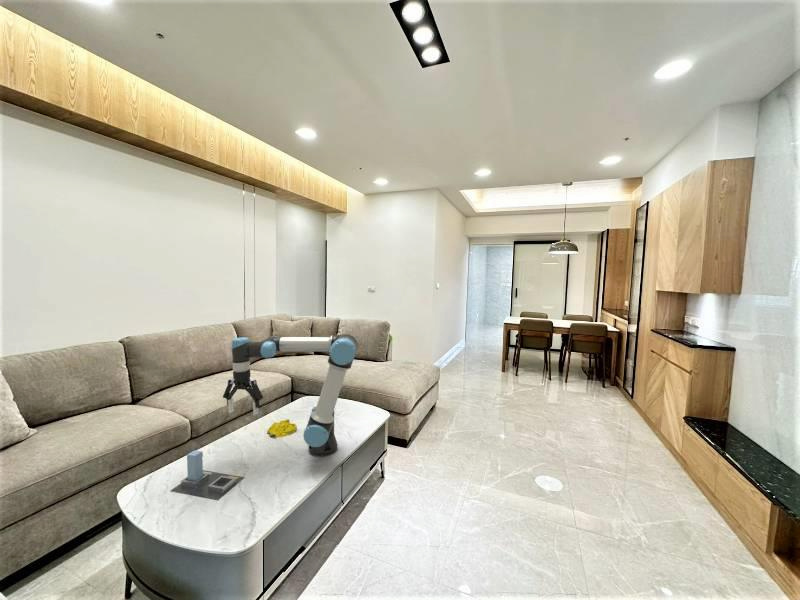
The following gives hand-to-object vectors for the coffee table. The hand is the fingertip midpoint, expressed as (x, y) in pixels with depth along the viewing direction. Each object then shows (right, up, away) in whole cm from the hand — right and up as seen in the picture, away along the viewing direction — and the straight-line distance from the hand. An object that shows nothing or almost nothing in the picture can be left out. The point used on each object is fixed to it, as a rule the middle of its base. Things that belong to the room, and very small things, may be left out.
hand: (243, 413), depth 158 cm
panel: (-8, -27, -16) cm, 32 cm away
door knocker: (+6, -24, +37) cm, 45 cm away
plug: (-14, -25, -14) cm, 32 cm away
